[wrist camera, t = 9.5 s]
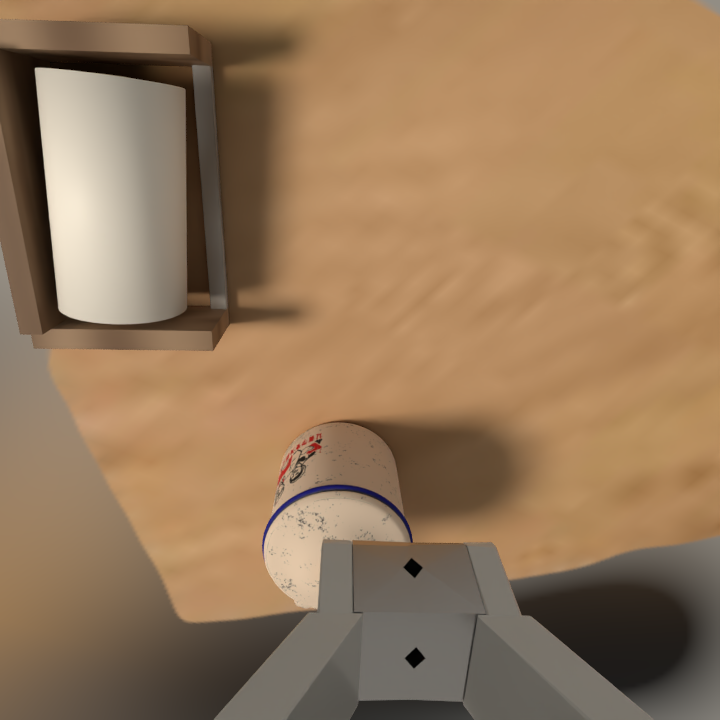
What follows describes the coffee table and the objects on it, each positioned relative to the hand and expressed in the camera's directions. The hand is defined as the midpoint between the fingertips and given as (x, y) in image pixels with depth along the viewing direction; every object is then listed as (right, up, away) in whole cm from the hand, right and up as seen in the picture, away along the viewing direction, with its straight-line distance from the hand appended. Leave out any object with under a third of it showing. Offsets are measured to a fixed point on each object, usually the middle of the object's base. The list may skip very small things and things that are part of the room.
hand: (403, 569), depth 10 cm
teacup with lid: (-3, -6, +32) cm, 33 cm away
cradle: (-14, +14, +24) cm, 31 cm away
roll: (-14, +12, +21) cm, 28 cm away
